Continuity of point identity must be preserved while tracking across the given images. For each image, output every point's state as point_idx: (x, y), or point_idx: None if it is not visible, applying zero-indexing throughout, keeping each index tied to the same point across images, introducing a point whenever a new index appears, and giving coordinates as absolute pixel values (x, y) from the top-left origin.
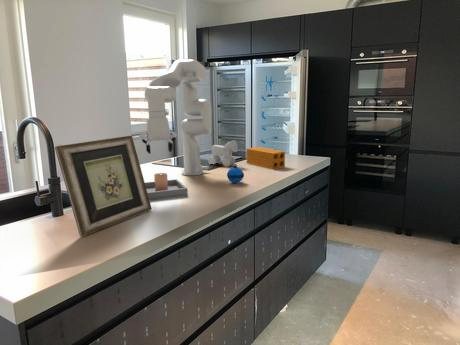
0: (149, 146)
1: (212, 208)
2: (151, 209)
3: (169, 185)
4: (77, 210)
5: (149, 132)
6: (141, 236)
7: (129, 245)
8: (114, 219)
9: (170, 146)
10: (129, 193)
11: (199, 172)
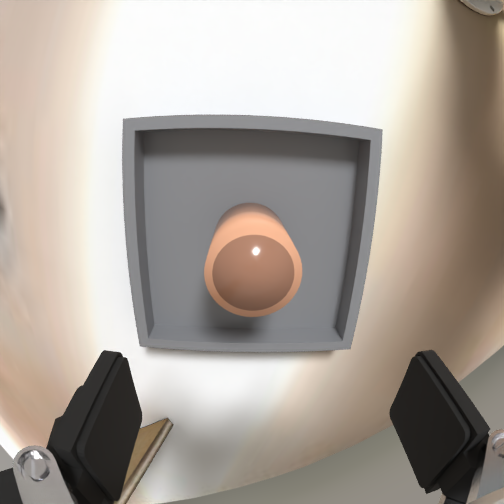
0: (114, 491)
1: (335, 447)
2: (172, 425)
3: (322, 139)
4: None
5: None
6: (152, 493)
7: (137, 500)
8: None
9: (418, 461)
10: None
11: (492, 6)
